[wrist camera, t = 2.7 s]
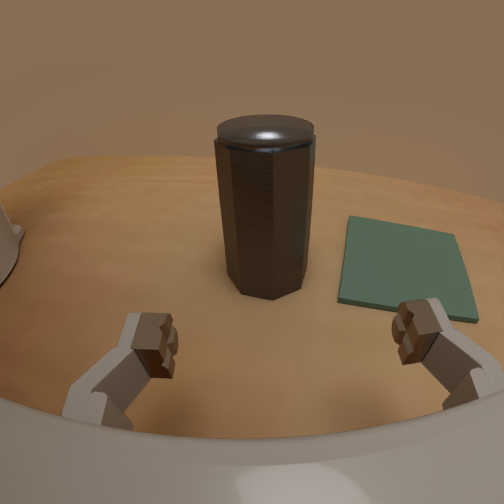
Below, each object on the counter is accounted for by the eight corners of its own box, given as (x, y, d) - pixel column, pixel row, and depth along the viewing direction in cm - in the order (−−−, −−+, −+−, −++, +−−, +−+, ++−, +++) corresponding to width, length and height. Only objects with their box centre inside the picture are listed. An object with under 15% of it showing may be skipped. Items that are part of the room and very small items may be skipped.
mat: (337, 302, 23) (338, 297, 22) (348, 219, 31) (349, 215, 31) (476, 323, 19) (479, 319, 19) (452, 238, 28) (453, 234, 28)
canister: (219, 289, 24) (200, 136, 17) (244, 244, 29) (236, 113, 21) (296, 304, 23) (306, 142, 15) (310, 255, 27) (319, 118, 20)
